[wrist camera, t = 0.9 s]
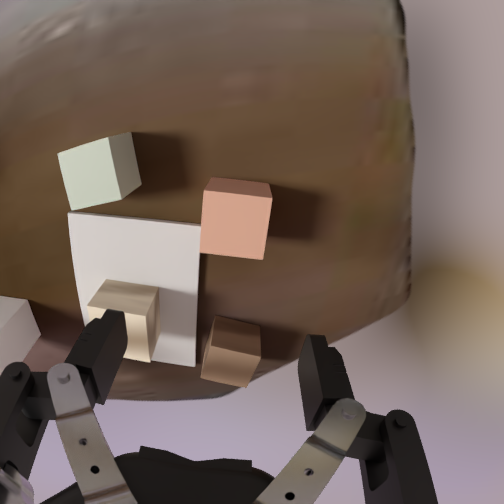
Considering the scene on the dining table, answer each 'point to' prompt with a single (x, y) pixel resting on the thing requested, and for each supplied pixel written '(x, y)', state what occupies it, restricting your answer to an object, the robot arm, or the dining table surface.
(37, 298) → the dining table surface
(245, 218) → the terracotta block
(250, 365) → the walnut block
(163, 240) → the mat
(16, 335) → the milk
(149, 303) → the birch block
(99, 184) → the sage block
